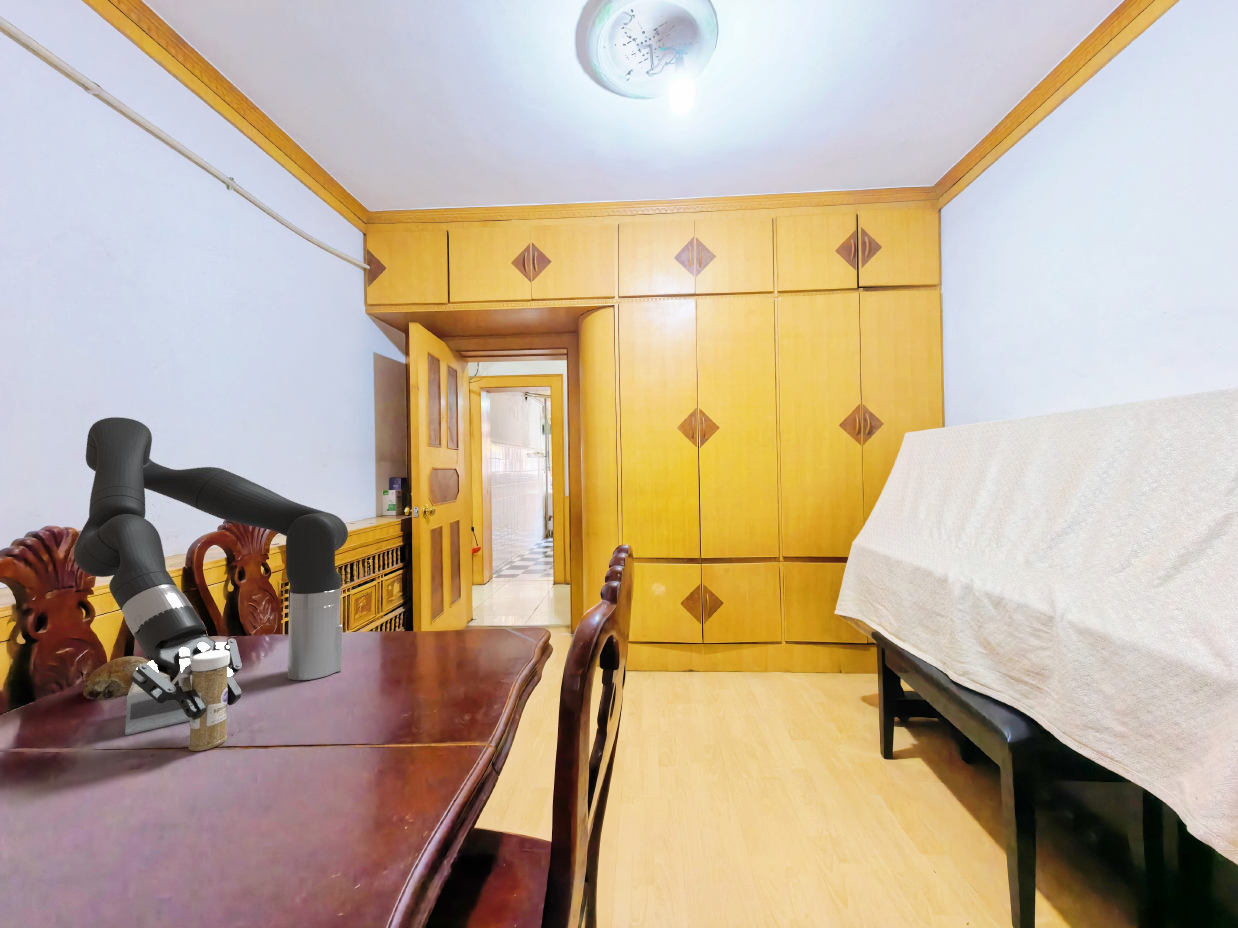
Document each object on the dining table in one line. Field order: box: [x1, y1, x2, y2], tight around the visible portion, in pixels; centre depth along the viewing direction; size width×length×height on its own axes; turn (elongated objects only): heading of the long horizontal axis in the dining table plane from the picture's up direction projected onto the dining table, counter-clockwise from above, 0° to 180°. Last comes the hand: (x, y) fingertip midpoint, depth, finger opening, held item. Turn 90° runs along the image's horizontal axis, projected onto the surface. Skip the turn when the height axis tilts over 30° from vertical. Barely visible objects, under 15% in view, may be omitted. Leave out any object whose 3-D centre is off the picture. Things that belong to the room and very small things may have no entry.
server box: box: [125, 671, 192, 736], centre depth 85 cm, size 12×10×6 cm
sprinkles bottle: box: [188, 650, 230, 752], centre depth 75 cm, size 5×5×13 cm
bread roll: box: [82, 655, 150, 701], centre depth 96 cm, size 10×10×8 cm
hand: (218, 707), depth 74 cm, fingers closed on sprinkles bottle, 4 cm apart
